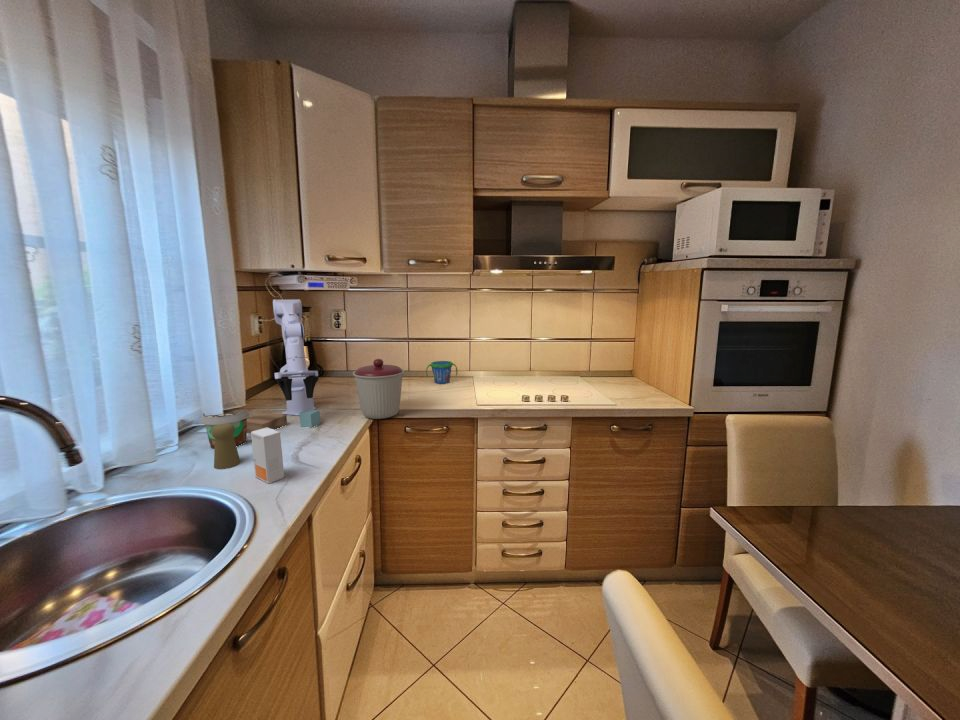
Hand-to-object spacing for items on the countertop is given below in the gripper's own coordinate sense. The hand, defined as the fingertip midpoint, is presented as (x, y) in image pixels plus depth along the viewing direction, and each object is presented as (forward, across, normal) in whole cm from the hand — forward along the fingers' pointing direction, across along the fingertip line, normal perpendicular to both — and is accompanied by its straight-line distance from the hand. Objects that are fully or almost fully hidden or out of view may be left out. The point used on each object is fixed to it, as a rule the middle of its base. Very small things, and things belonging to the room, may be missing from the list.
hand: (299, 399), depth 131 cm
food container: (+12, -21, +7) cm, 25 cm away
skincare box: (+19, -25, -22) cm, 38 cm away
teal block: (+9, +4, +2) cm, 10 cm away
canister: (+10, +25, -11) cm, 29 cm away
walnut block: (+8, -6, +13) cm, 16 cm away
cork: (+15, -26, -5) cm, 31 cm away
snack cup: (0, +78, 0) cm, 78 cm away
